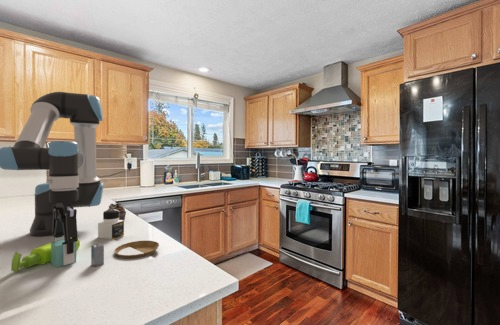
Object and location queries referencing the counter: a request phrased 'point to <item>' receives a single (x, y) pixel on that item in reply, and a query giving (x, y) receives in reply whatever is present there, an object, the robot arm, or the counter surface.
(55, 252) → the teal foam cube
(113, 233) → the medicine bottle
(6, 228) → the counter surface
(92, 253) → the post grey
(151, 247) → the plant saucer
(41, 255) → the soap dispenser
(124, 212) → the cupcake
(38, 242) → the counter surface
